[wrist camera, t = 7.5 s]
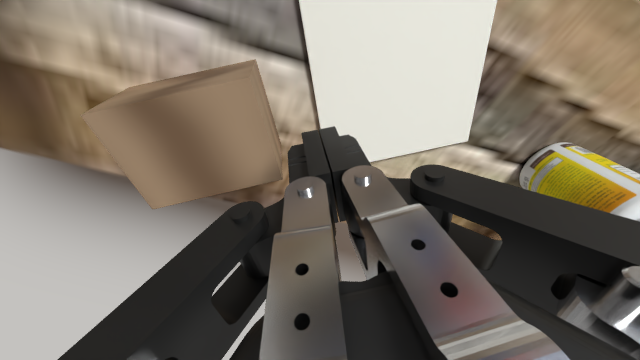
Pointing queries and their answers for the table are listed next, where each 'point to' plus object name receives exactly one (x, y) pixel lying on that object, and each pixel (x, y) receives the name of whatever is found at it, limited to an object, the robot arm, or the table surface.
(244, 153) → the walnut block
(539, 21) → the table surface
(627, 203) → the supplement bottle
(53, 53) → the table surface
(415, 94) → the white square tile
